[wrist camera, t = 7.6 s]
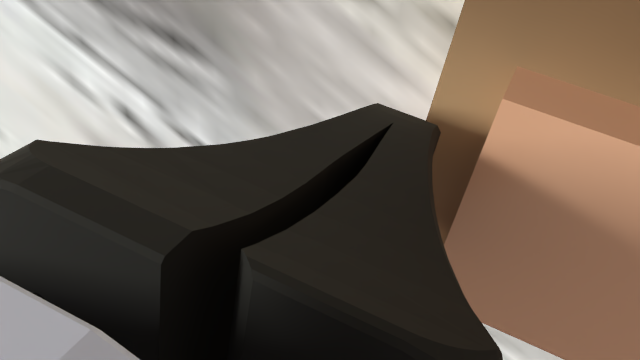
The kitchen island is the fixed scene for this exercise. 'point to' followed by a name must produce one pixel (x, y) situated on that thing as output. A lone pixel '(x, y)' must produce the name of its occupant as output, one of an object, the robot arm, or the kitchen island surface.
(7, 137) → the kitchen island surface
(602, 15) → the walnut board
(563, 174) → the tile
